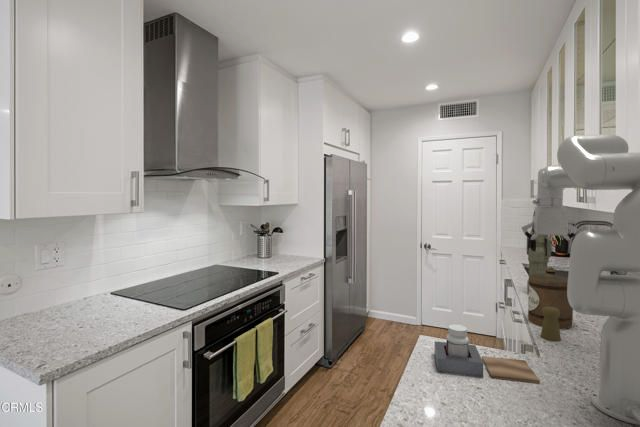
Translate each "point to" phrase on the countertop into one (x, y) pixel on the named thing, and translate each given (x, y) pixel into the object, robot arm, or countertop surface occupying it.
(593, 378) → the countertop surface
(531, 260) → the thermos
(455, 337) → the pill bottle
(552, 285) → the wooden container
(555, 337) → the cork
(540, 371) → the countertop surface
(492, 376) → the brown pad
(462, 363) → the metal collar
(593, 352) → the countertop surface
